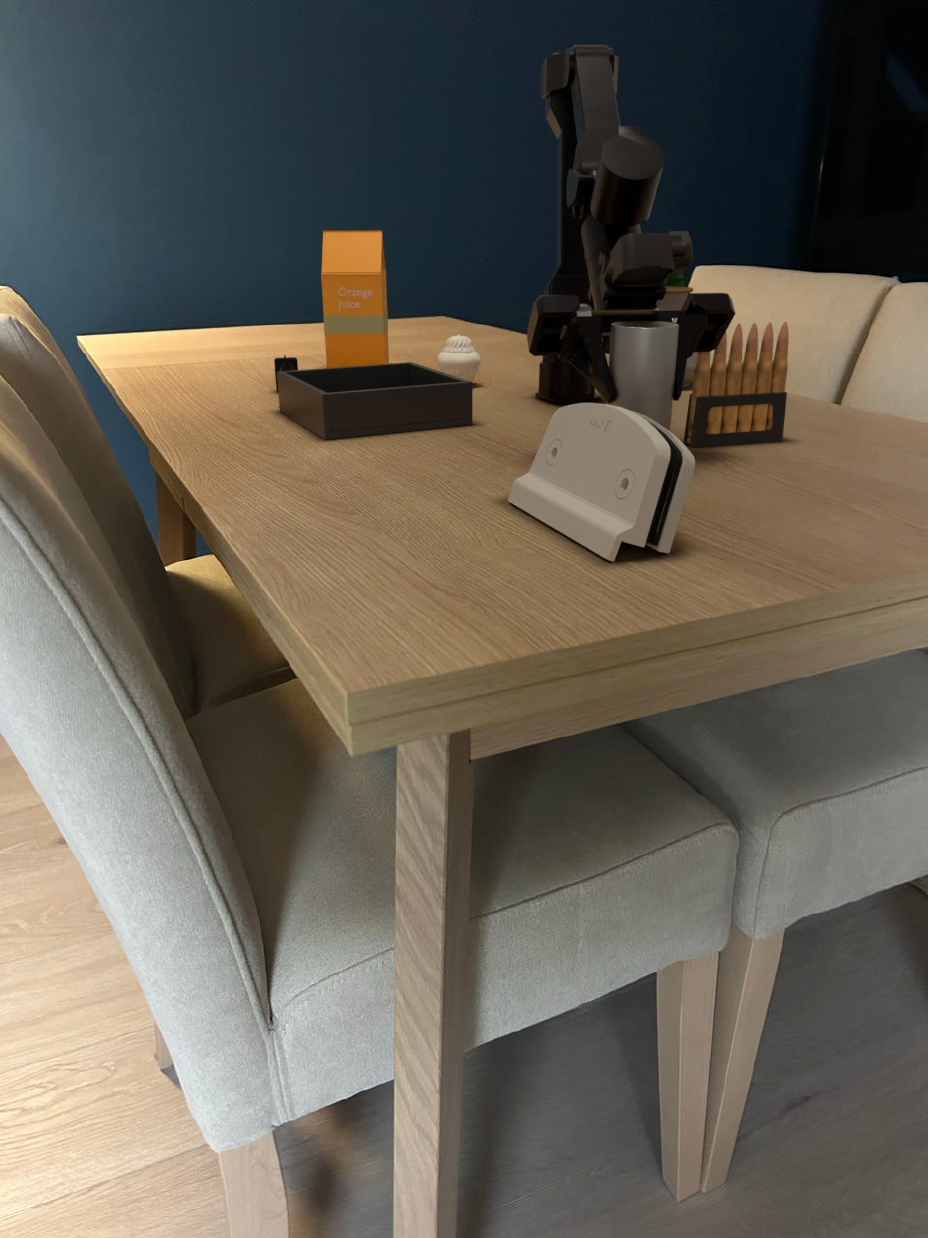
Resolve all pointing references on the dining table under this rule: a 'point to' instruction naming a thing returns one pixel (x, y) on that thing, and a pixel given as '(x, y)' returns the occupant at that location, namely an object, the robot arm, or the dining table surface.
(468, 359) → the muffin
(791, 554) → the dining table surface
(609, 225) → the robot arm
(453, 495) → the dining table surface
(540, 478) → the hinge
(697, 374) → the ammunition clip
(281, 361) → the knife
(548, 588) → the dining table surface
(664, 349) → the metal can
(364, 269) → the orange juice
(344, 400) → the bin
